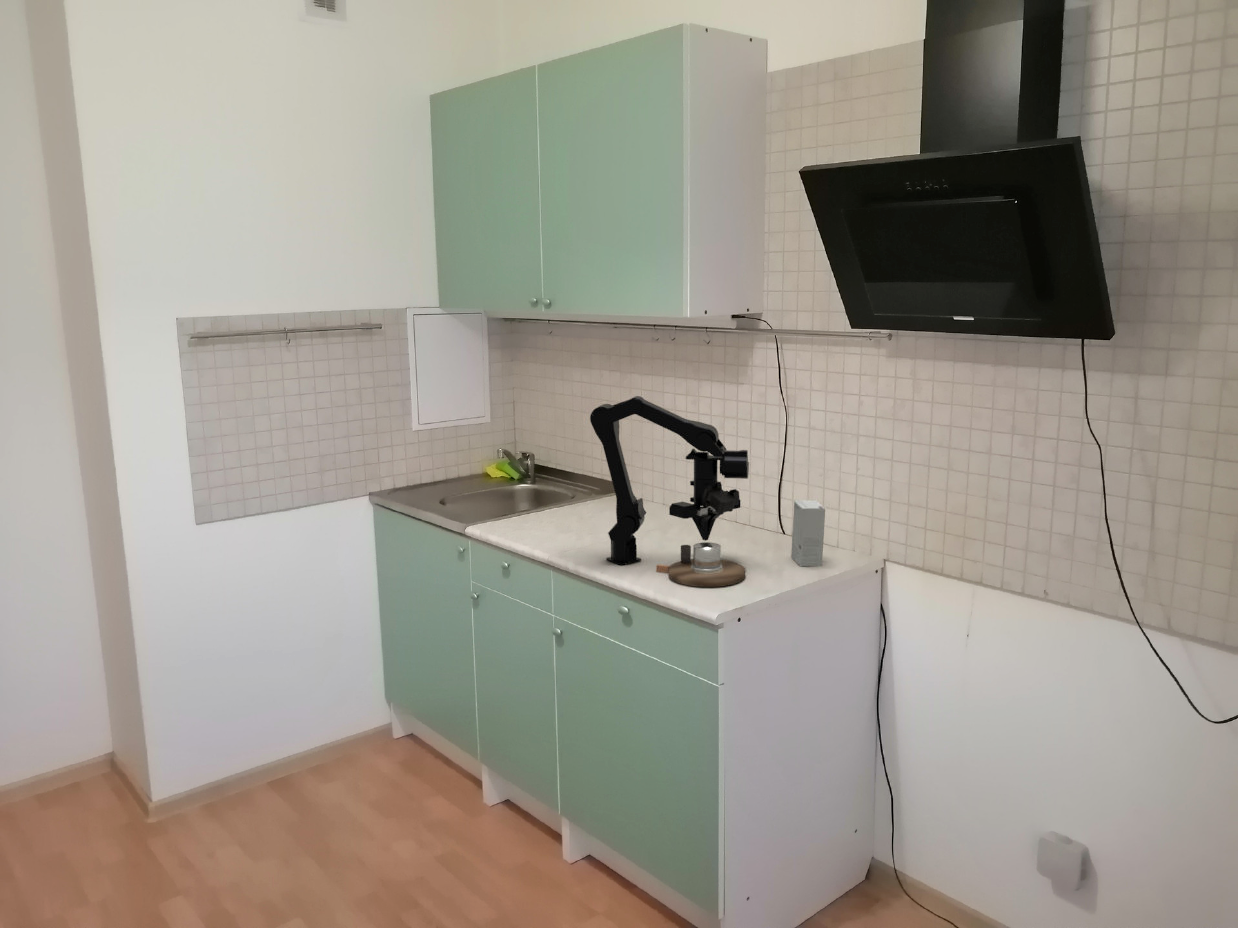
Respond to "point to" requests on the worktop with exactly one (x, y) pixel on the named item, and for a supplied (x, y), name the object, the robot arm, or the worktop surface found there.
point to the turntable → (687, 576)
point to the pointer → (662, 568)
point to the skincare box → (808, 532)
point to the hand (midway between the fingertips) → (705, 540)
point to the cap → (706, 557)
